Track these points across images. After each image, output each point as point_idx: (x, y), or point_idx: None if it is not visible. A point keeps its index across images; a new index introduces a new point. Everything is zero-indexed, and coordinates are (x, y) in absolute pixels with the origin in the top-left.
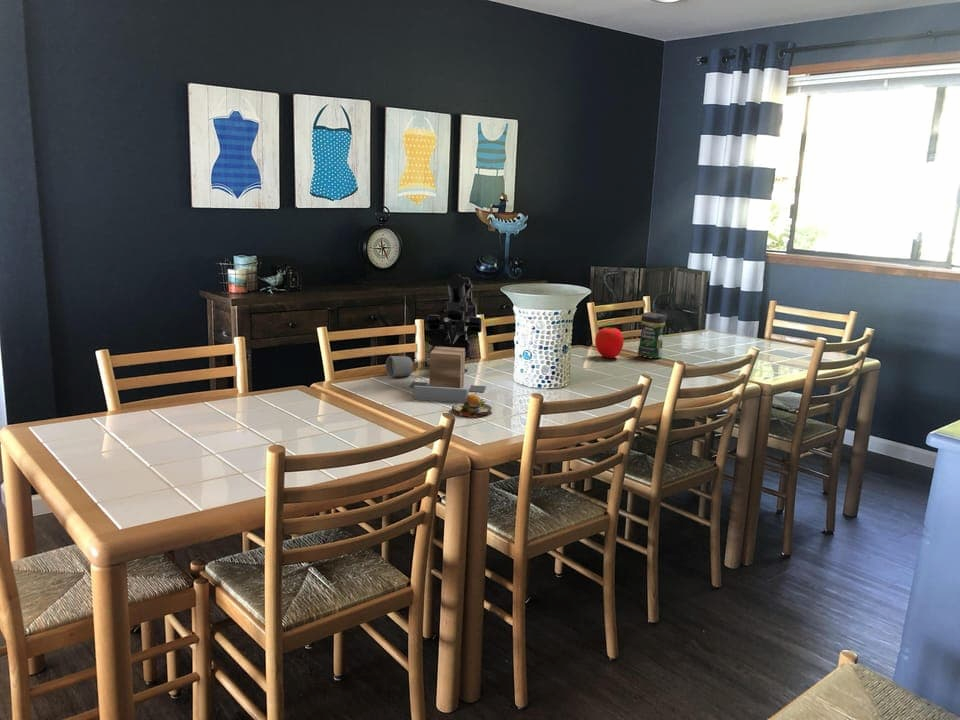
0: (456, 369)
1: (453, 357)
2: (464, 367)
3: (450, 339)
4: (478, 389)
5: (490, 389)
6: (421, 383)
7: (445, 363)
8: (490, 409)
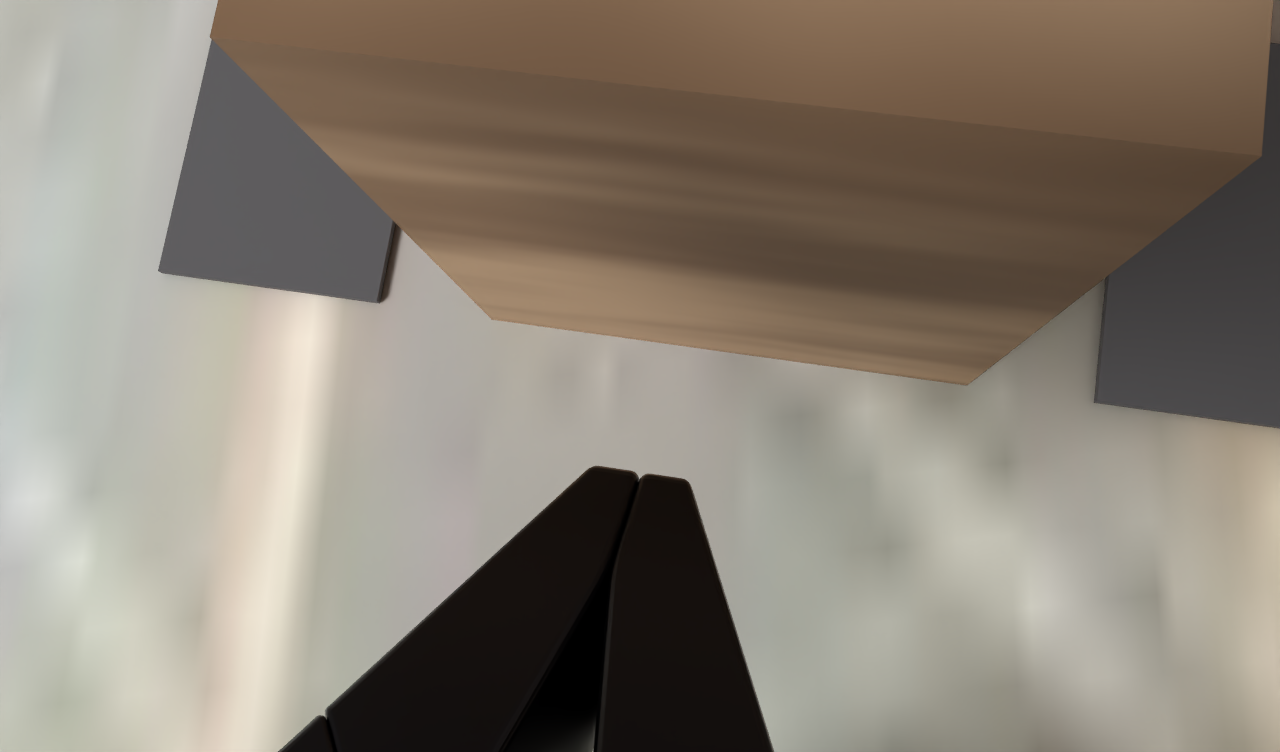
0: None
1: None
2: (407, 234)
3: (697, 546)
4: None
5: (120, 124)
6: (1192, 317)
7: None
8: None
